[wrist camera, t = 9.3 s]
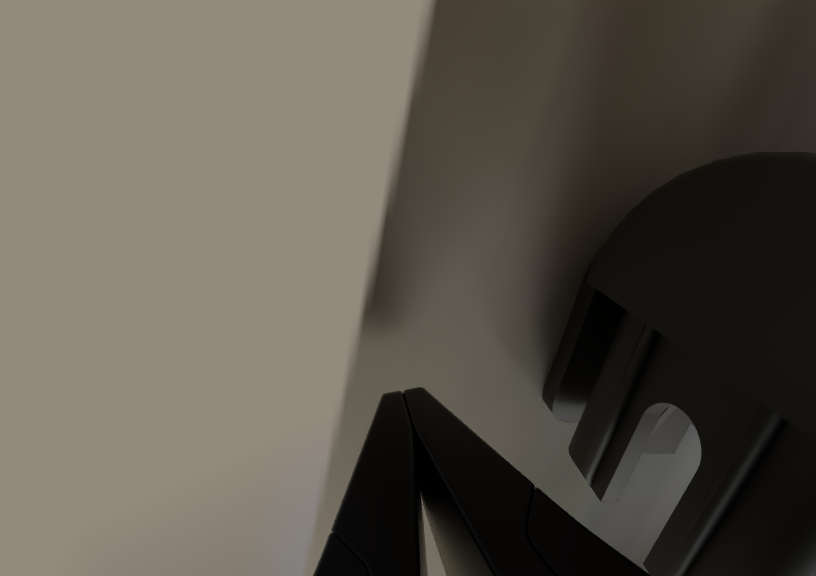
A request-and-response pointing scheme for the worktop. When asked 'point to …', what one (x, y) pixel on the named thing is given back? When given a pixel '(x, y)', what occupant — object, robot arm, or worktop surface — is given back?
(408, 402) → the robot arm
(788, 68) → the worktop surface
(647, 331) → the end cap
